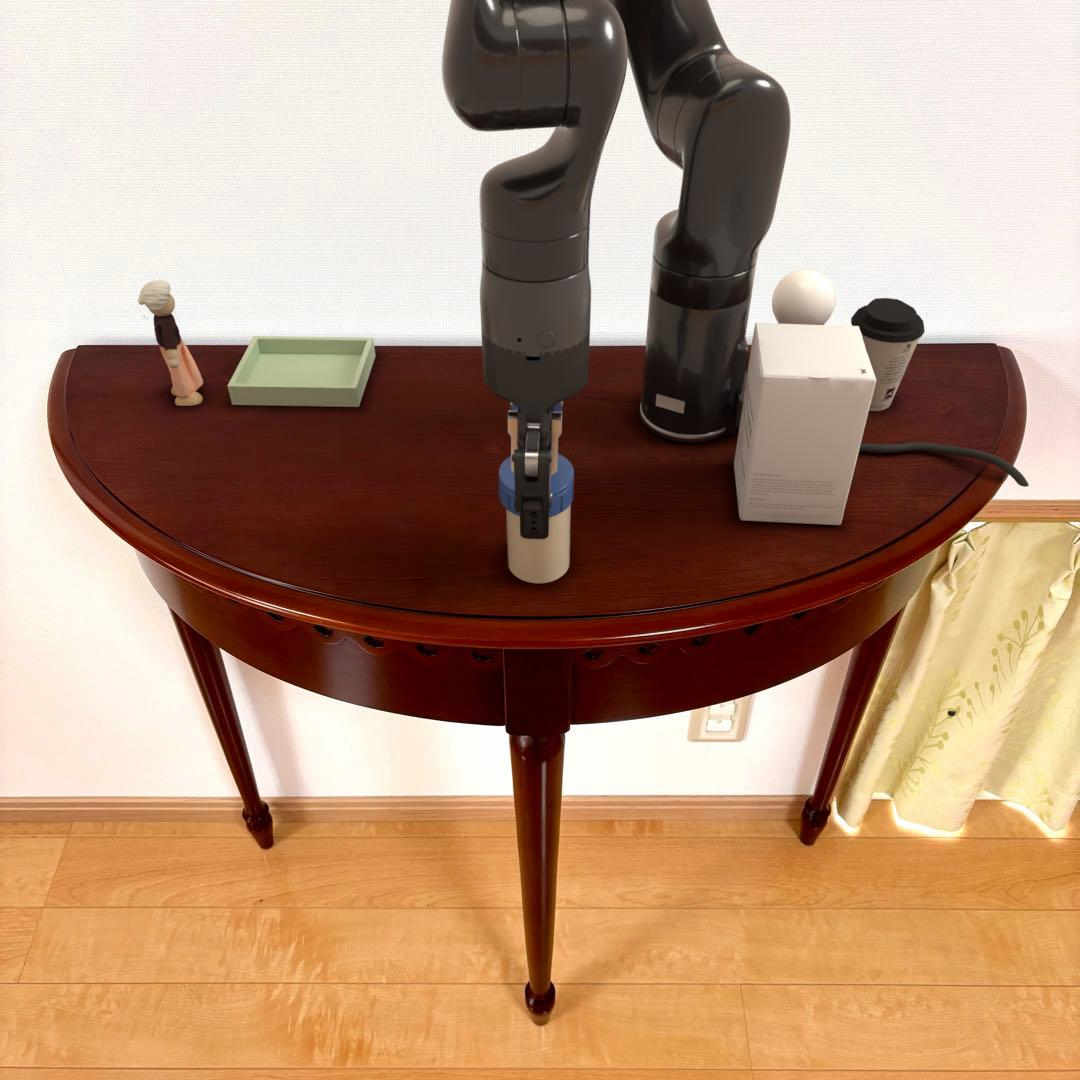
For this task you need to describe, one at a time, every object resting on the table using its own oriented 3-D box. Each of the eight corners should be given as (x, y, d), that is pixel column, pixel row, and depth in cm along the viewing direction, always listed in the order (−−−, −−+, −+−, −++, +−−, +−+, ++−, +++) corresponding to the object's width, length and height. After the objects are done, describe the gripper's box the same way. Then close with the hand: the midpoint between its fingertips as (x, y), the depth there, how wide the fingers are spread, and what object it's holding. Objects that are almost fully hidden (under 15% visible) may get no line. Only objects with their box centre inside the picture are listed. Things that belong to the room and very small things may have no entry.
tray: (375, 356, 106) (373, 337, 105) (359, 407, 98) (356, 388, 97) (257, 354, 106) (253, 335, 105) (232, 405, 99) (227, 386, 97)
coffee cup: (909, 419, 96) (936, 330, 89) (838, 416, 97) (860, 327, 90) (896, 382, 101) (920, 295, 95) (829, 379, 102) (848, 292, 95)
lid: (502, 472, 78) (501, 448, 77) (573, 474, 78) (574, 450, 76) (497, 518, 74) (495, 493, 72) (572, 520, 74) (573, 495, 72)
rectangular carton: (829, 466, 90) (863, 323, 80) (842, 527, 84) (881, 379, 74) (731, 461, 91) (753, 318, 81) (736, 521, 84) (761, 374, 74)
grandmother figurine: (217, 403, 99) (186, 290, 91) (180, 415, 97) (146, 301, 89) (192, 371, 104) (160, 261, 95) (157, 382, 102) (122, 271, 94)
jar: (570, 542, 82) (571, 458, 76) (569, 584, 78) (571, 499, 73) (509, 541, 83) (506, 456, 77) (505, 583, 79) (502, 497, 73)
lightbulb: (749, 359, 105) (764, 265, 98) (798, 347, 107) (816, 254, 100) (782, 388, 101) (800, 291, 93) (832, 375, 102) (854, 279, 95)
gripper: (489, 272, 71) (496, 456, 82) (470, 375, 61) (481, 570, 72) (590, 274, 71) (584, 458, 82) (589, 377, 60) (582, 573, 71)
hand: (536, 509), depth 77 cm, fingers closed on lid, 5 cm apart
